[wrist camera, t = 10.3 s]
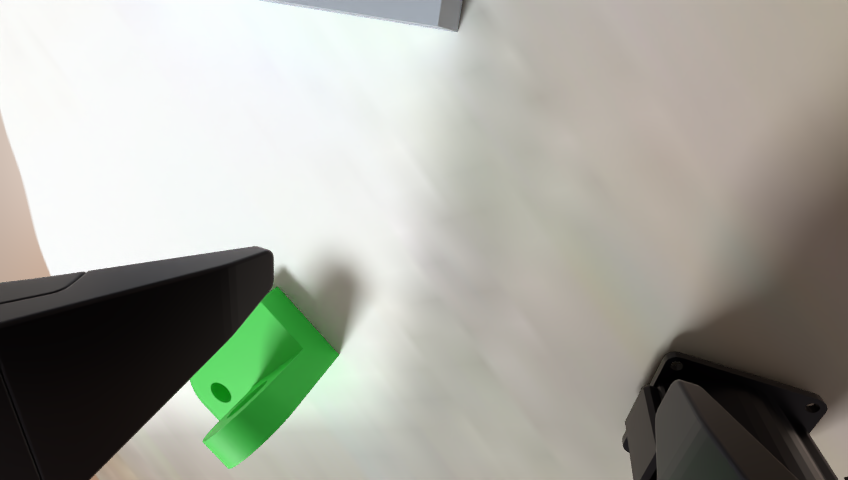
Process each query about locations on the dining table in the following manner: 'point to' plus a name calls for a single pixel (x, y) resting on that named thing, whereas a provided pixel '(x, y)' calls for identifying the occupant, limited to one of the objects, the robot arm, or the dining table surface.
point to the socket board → (392, 10)
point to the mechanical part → (260, 377)
